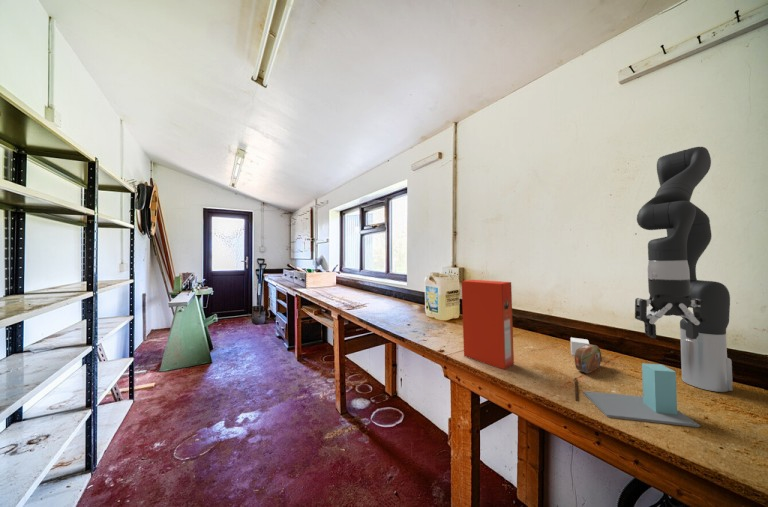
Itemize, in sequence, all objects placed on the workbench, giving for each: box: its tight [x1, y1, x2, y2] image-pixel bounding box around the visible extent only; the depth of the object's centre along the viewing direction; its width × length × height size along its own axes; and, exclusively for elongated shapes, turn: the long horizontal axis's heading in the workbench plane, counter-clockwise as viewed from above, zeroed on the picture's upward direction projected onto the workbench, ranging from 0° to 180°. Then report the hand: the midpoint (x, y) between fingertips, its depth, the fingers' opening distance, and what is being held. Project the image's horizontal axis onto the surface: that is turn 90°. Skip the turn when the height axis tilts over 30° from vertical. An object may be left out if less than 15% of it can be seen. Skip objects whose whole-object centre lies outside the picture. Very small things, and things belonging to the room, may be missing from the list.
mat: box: [582, 390, 701, 428], centre depth 70 cm, size 19×12×1 cm, turn 76°
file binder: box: [461, 279, 515, 370], centre depth 104 cm, size 8×17×32 cm, turn 38°
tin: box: [573, 343, 602, 374], centre depth 94 cm, size 15×3×8 cm, turn 120°
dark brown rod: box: [574, 377, 578, 402], centre depth 80 cm, size 15×1×1 cm, turn 144°
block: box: [641, 362, 678, 415], centre depth 69 cm, size 4×4×11 cm
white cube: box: [570, 337, 590, 357], centre depth 108 cm, size 6×6×6 cm
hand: (671, 337), depth 68 cm, fingers open, 8 cm apart
